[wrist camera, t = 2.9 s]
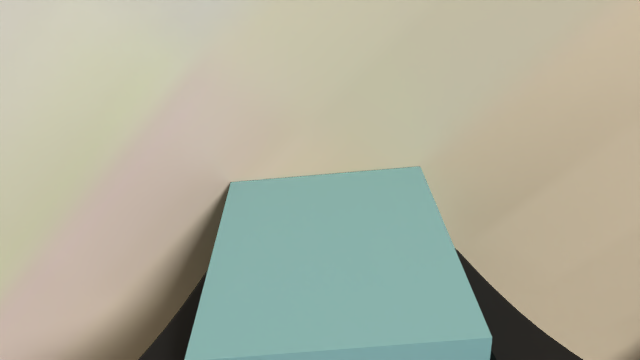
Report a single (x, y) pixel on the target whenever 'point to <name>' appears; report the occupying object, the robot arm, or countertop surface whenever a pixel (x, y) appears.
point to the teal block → (336, 274)
